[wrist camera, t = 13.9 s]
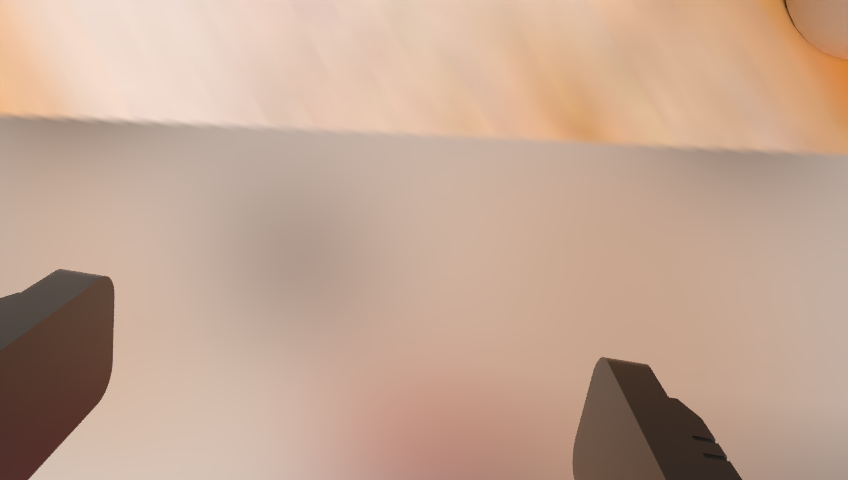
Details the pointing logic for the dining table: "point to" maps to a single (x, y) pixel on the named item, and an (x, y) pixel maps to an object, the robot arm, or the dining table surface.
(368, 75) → the dining table surface
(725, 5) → the dining table surface
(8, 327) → the robot arm
